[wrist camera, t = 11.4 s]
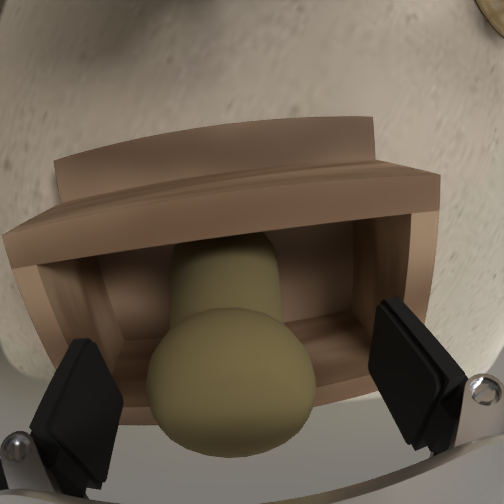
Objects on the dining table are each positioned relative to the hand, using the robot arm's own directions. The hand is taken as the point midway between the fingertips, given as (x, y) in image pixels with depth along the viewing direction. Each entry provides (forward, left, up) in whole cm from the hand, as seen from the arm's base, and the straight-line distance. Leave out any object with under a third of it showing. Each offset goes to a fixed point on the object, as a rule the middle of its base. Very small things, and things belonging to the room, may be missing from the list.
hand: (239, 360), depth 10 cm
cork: (0, 0, -9) cm, 9 cm away
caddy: (0, 0, -10) cm, 10 cm away
